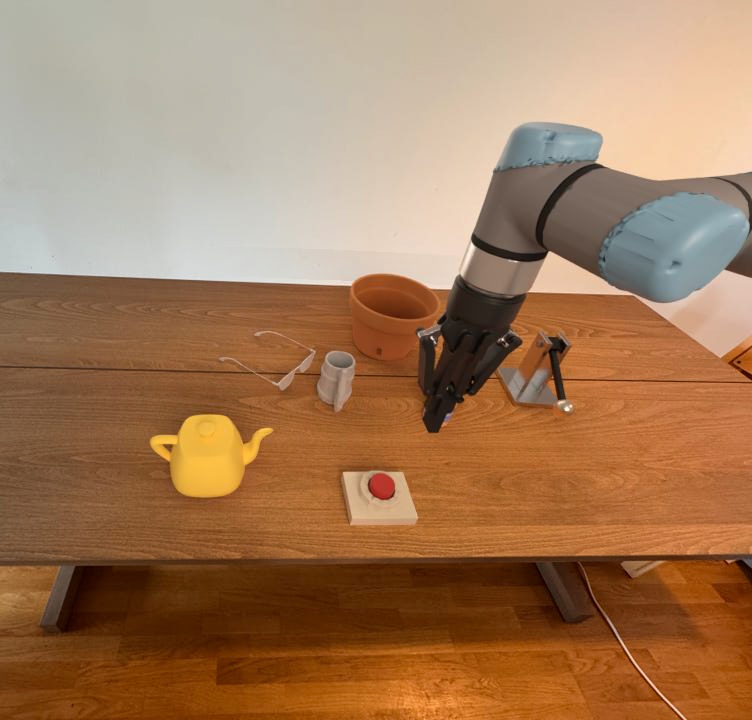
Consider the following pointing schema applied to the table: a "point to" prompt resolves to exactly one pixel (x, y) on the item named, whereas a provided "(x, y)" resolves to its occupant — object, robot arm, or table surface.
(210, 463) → the teapot
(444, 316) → the robot arm
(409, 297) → the flower pot
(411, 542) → the table surface
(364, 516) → the button box
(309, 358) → the eyeglasses
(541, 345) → the bracket
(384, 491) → the button
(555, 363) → the lever
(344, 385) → the mug
